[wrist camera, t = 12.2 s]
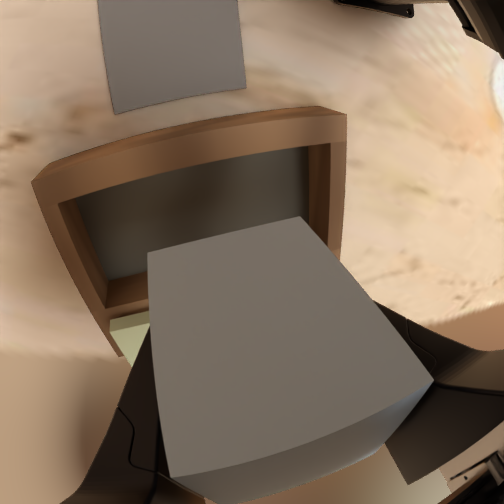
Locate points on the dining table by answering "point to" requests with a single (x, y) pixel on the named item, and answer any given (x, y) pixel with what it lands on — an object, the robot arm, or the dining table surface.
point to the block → (271, 362)
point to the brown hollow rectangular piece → (189, 195)
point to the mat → (170, 49)
